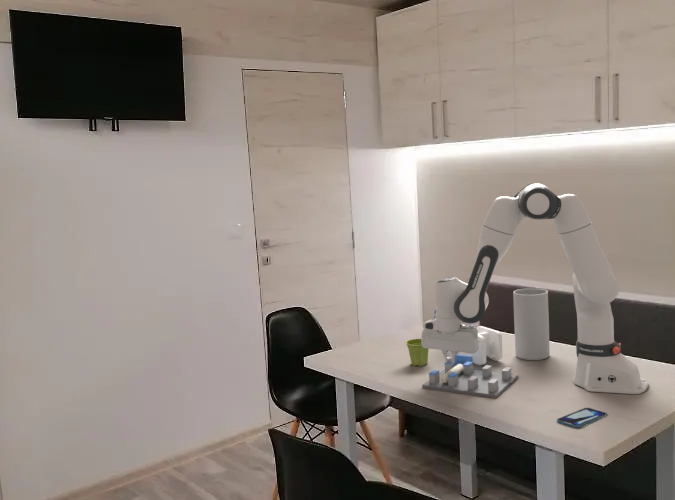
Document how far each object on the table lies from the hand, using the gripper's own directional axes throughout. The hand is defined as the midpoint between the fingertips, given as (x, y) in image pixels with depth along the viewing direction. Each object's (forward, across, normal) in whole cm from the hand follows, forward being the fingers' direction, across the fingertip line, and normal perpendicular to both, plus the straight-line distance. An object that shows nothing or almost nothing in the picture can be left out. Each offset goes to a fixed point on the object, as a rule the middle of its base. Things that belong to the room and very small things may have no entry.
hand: (450, 362), depth 232 cm
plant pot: (+7, +19, -13) cm, 24 cm away
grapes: (+7, +29, -55) cm, 63 cm away
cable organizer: (+6, -1, -25) cm, 26 cm away
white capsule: (+4, -1, 0) cm, 4 cm away
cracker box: (+6, +12, -45) cm, 47 cm away
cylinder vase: (+6, -17, -37) cm, 41 cm away
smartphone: (+7, -48, +17) cm, 52 cm away
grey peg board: (+6, -7, 0) cm, 10 cm away
